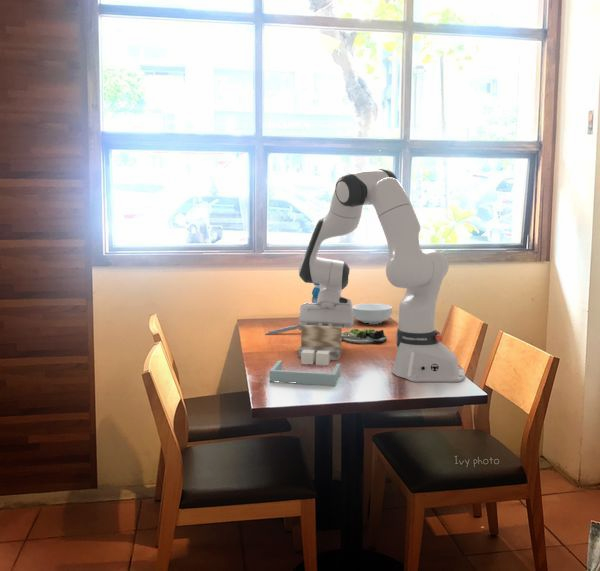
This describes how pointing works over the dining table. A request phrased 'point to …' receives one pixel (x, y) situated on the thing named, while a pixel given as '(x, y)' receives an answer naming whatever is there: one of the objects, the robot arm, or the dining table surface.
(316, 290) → the beverage bottle
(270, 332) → the caliper
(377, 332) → the salad plate
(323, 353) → the cream block
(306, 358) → the cream block
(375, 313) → the cereal bowl
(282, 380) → the tray
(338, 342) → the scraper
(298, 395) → the dining table surface
